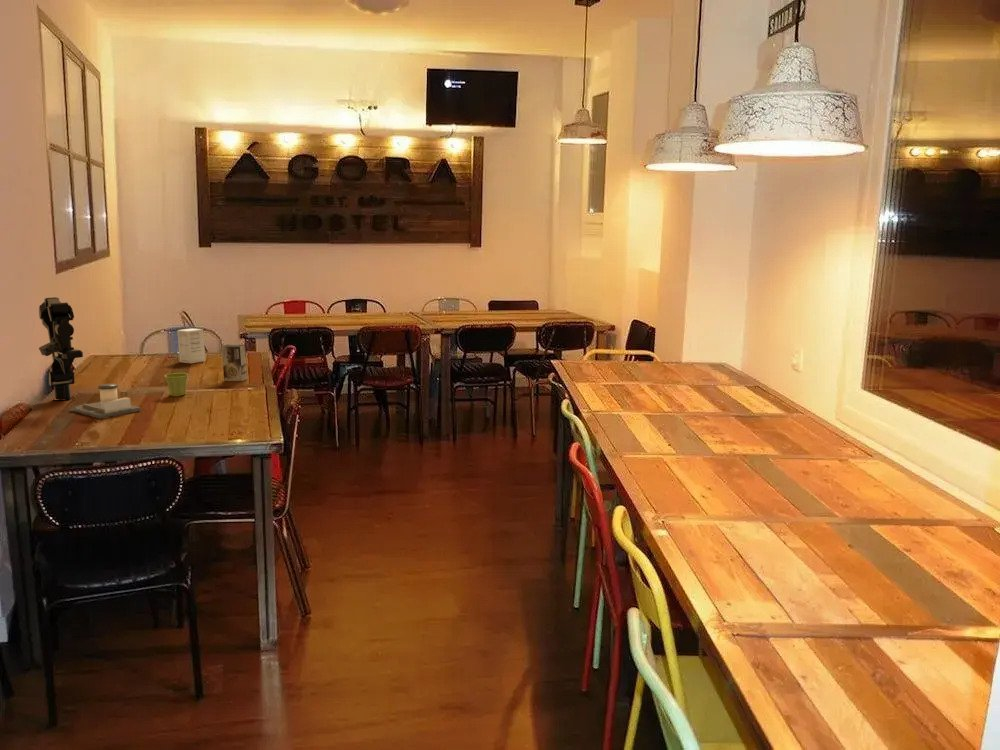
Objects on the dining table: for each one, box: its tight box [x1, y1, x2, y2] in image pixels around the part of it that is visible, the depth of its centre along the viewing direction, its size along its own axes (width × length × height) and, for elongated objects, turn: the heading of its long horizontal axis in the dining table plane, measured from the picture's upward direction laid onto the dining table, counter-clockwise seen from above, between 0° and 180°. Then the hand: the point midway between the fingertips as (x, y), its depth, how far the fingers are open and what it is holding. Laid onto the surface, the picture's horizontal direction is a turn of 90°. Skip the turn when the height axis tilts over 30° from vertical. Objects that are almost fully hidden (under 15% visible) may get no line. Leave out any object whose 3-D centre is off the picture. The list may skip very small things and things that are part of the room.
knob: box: [97, 383, 119, 402], centre depth 315 cm, size 7×7×9 cm
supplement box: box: [176, 327, 207, 364], centre depth 424 cm, size 10×9×17 cm
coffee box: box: [220, 344, 248, 382], centre depth 377 cm, size 9×6×16 cm
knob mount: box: [70, 397, 141, 420], centre depth 318 cm, size 22×16×6 cm
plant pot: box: [164, 372, 189, 397], centre depth 346 cm, size 9×9×9 cm
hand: (66, 373), depth 324 cm, fingers closed
